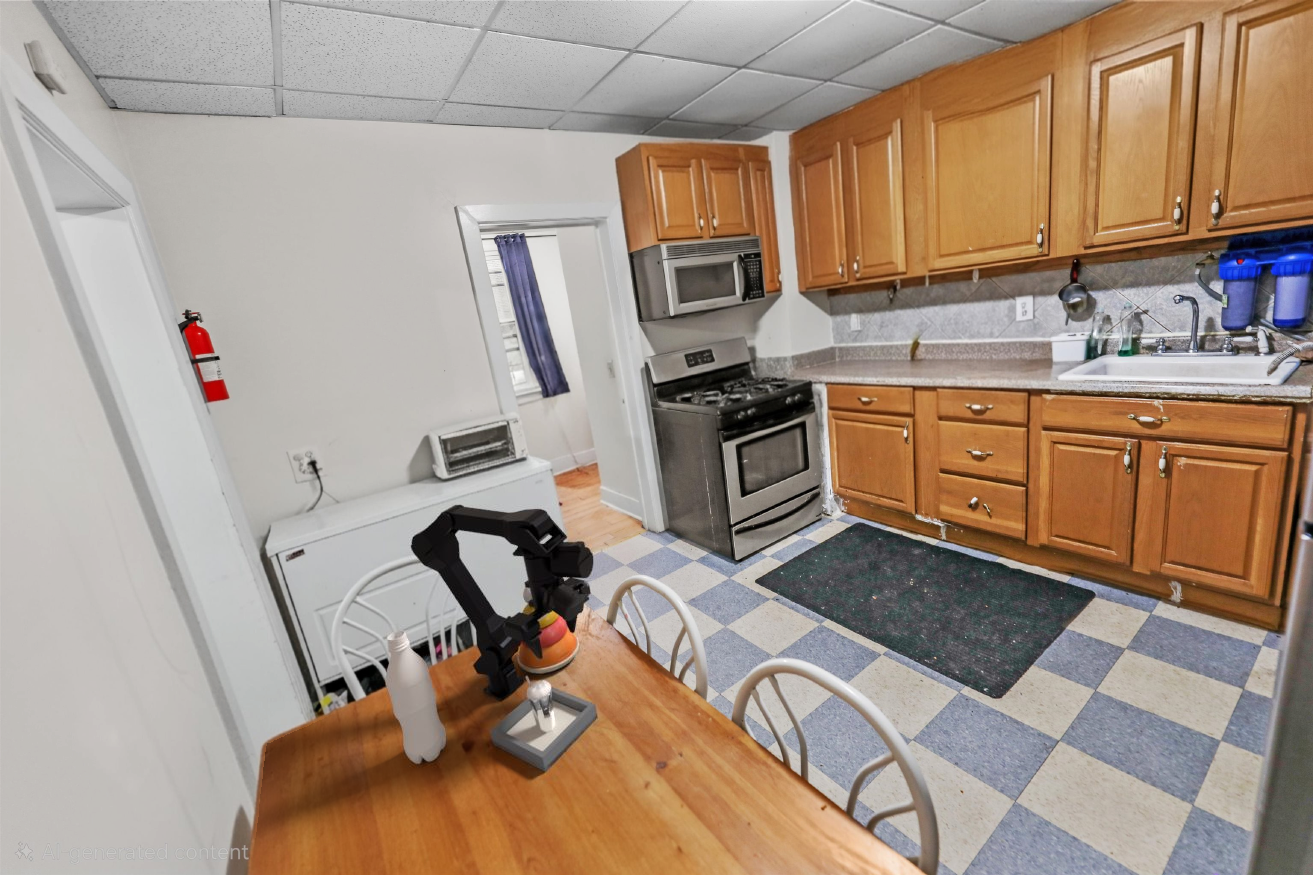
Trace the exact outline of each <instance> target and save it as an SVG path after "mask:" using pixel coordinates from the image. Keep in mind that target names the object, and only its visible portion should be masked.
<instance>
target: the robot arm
mask: <svg viewBox="0 0 1313 875" xmlns="http://www.w3.org/2000/svg"><path fill="white" fill-rule="evenodd" d="M459 531H462V532H466V533H467V532H468V533H474V534H475V533H476V534H481V535H487V536H488V535H489V536H495V537H501V538H503V539H505V540H506V541H507V542H508V543H509V544H510V545H513V546H517V547H516V549H515V550H514V551H513V552H512V557H523V562H524V563H523V564H524V567H525V571H526V576H527V580H526V581H525V582H524V588H525V587H527V588H530V591H531V596H532V599H531V600H530V601H528V602H529V606H531V607H534V609H535V610H534V611H533V612H532V613H530V614H529V615H527V614H524V613H522V612H517V613H515V615H513V616H511V615H508V616H506V617H504V616H502V615H499V614H498V613H497V612H496V610H495V609H494V608H493V606H492V604H491V603H490V602H489V600H488V598H487V597H486V596H485V594H484V592H483V591H482V589H481V588H480V587H479V585H478V583H477V582H476V580H475V579H474V577H473V576H472V574H471V573H470V571H469V569H468V568H467V567H466V564H464V562H463V560H462V559H461V556H460V542H459V540H458V537H457V536H456V534H457V533H458V532H459ZM548 536H550V538H549V539H548V540H546V541H545V542H544V543H541V542H542V541H543V540H545V539H546V538H547V537H548ZM567 538H568V536H567V534H565V532H564V531H563V530H562V529H561V527H560V526H558V525H557V523H556V522H555V521H554V520H553V519H552V517H551V516H550V515H549V513H548V511H546V510H545V509H542V508H531V509H530V508H529V509H528V508H527V509H522V510H518V511H513V512H507V511H500V510H493V509H491V510H490V509H483V508H476V507H470V506H469V507H468V506H464V505H463V504H453V505H452V506H451V507H449V508H447V509H445V510H443V511H441V512H440V514H439V515H438V516H437V517H436V518H435V520H434V521H433V522H431V523H430V524H429V525H428V526H427V527H426V528H424V529H423V530H421V531H420V532H418V533H416V534H414V536H412V539H411V544H410V549H411V551H412V553H413V554H414V556H415V557H416V558H417V559H418V561H419V562H420V563H421V564H422V565H423V566H424V567H426V568H429V569H431V570H433V571H435V572H437V573H438V574H439V576H440V577H441V579H442V580H443V582H444V583H445V585H446V586H447V588H448V589H449V590H450V592H451V594H452V595H453V597H454V599H455V600H456V601H457V603H458V604H459V606H460V608H461V609H462V611H463V612H464V613H465V615H466V617H467V618H468V619H469V621H470V623H471V624H472V625H473V627H474V629H475V636H476V637H475V638H476V640H475V641H476V647H477V648H478V651H479V652H480V656H479V657H478V659H477V660H476V661H475V662H474V663H473V665H472V667H473V669H474V670H475V672H476V674H478V675H484V676H486V680H487V685H486V686H485V687H484V688H483V689H482V692H483V693H484V694H486V695H489V696H491V697H493V698H495V699H497V700H499V701H503V700H505V699H506V698H507V697H508V696H510V695H511V694H512V693H513V692H514V691H516V690H517V689H518V688H519V687H521V686H522V685H523V684H524V683H525V679H524V678H522V677H519V676H518V672H517V669H516V666H515V662H514V660H513V656H514V655H515V654H516V653H517V654H518V653H519V652H518V651H519V650H520V645H521V641H523V642H525V643H526V645H527V646H528V647H529V648H530V649H531V651H532V652H533V653H534V654H535V655H536V657H537V658H539V659H542V658H543V656H542V648H541V644H540V639H539V636H540V635H541V634H542V631H539V629H540V623H539V621H540V620H541V619H542V618H544V617H545V616H546V615H548V614H549V613H551V612H552V611H554V612H555V613H556V614H558V615H559V616H561V617H562V618H563V619H564V620H565V621H566V624H567V627H568V629H569V631H570V632H571V633H573V634H574V633H575V632H576V627H577V621H578V616H579V614H582V612H584V608H585V603H586V602H588V601H590V597H589V596H590V594H592V592H591V587H590V586H591V585H590V583H588V581H587V580H584V579H587V578H589V577H590V575H591V574H592V572H593V569H594V554H593V552H592V551H591V549H590V548H589V547H587V546H586V544H585V541H581V540H578V541H566V540H567ZM565 578H567V579H566V580H565Z"/></svg>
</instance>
